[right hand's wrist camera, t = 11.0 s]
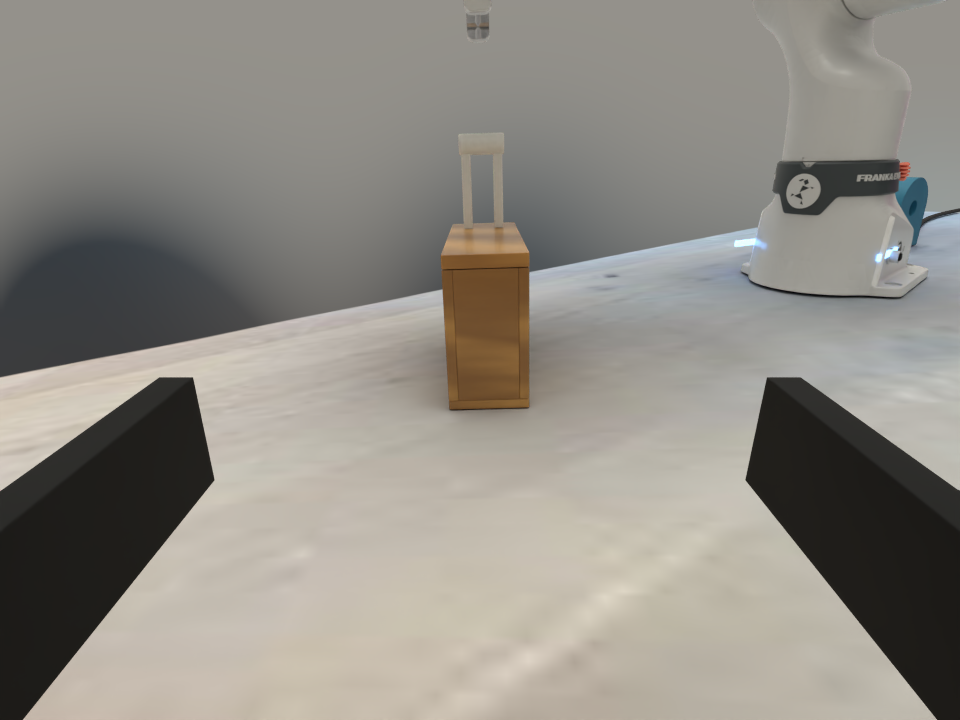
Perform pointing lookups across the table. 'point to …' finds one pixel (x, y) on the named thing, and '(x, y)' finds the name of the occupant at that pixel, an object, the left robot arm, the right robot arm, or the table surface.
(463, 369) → the chest
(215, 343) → the table surface
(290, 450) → the table surface
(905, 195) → the camera mount
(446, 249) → the lid
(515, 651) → the table surface
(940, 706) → the right robot arm
